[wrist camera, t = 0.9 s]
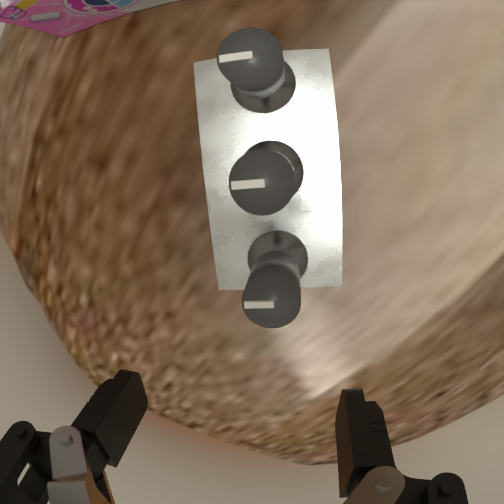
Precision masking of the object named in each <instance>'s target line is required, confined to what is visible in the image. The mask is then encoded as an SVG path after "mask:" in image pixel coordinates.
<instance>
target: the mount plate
mask: <svg viewBox="0 0 504 504" xmlns="http://www.w3.org/2000/svg"><path fill="white" fill-rule="evenodd" d="M283 57H284V66H285V80H284V83H283V85H282V87H281V88H280V89H279V90H278V91H277V92H276V93H275V94H273V95H271V96H269V97H266V98H251V97H248V96H246V95H244V94H242V93H241V92H240V91H239V90H238V89H237V88H236V87H235V86H234V85H233V84H232V83H231V82H230V81H228V80H227V79H226V78H225V77H224V75H223V74H222V73H221V72H220V70H219V68H218V65H217V58H216V59H210V60H204V61H199V62H194V76H195V88H196V100H197V111H198V122H199V133H200V143H201V152H202V162H203V171H204V180H205V189H206V197H207V206H208V214H209V222H210V230H211V237H212V245H213V252H214V260H215V267H216V274H217V281H218V288H219V290H244V289H245V286H246V283H247V281H248V278H249V275H250V272H251V269H252V266H253V264H254V262H255V261H256V259H257V258H258V257H260V256H261V255H263V254H264V253H267V252H271V251H279V252H283V253H286V254H288V255H290V256H291V257H292V258H293V259H294V260H295V261H296V263H297V264H298V267H299V270H300V288H312V287H334V286H342V195H341V172H340V154H339V140H338V127H337V116H336V105H335V96H334V87H333V78H332V70H331V63H330V56H329V49H302V50H284V51H283ZM255 150H275V151H278V152H280V153H282V154H283V155H285V156H286V157H287V158H288V159H289V160H290V162H291V164H292V166H293V168H294V173H295V190H294V193H293V196H292V198H291V200H290V201H289V203H288V204H287V205H286V206H285V207H284V208H283V209H282V210H280V211H278V212H276V213H274V214H271V215H265V216H259V215H254V214H251V213H248V212H246V211H244V210H243V209H242V208H240V207H239V206H238V205H237V204H236V202H235V201H234V200H233V198H232V196H231V194H230V190H229V182H228V181H229V174H230V171H231V169H232V167H233V165H234V164H235V162H236V161H237V160H238V159H239V158H240V157H241V156H243V155H244V154H246V153H248V152H251V151H255Z"/></svg>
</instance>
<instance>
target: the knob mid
mask: <svg viewBox="0 0 504 504" xmlns="http://www.w3.org/2000/svg"><path fill="white" fill-rule="evenodd" d="M228 182H229V190H230V194H231V196H232V198H233V200H234V201H235V202H236V204H237V205H238V206H239V207H240V208H242V209H243V210H244V211H246V212H248V213H251V214H254V215H259V216H265V215H271V214H274V213H276V212H278V211H280V210H282V209H283V208H284V207H285V206H286V205H287V204H288V203H289V201H290V200H291V198H292V196H293V193H294V190H295V173H294V168H293V166H292V164H291V162H290V160H289V159H288V158H287V157H286V156H285V155H283V154H282V153H280V152H278V151H275V150H255V151H251V152H248V153H246V154H244V155H243V156H241V157H240V158H239V159H238V160H237V161H236V162H235V164H234V165H233V167H232V169H231V171H230V174H229V181H228Z"/></svg>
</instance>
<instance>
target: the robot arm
mask: <svg viewBox="0 0 504 504" xmlns="http://www.w3.org/2000/svg"><path fill="white" fill-rule="evenodd" d="M147 405H148V400H147V396H146V392H145V389H144V386H143V383H142V380H141V377H140V374H139V373H138V372H133V371H128V370H123V369H121V370H119V371H118V373H117V374H116V375H115V377H114V378H113V379H108V380H107V381H105V382H104V383H102V384H101V385H100V386H99V387H98V389H97V390H96V391H95V393H94V395H93V396H92V397H91V398H90V400H89V402H87V404H86V405H85V406H84V408H83V409H82V411H81V412H80V413H79V415H78V416H77V418H76V419H75V420H74V422H73V423H72V425H71V426H62V427H59V428H57V429H56V430H54V431H53V432H52V433H49V432H40V431H36V430H35V428H34V427H33V425H32V424H31V423H29V422H27V421H19V422H16V423H15V424H13V425H12V426H11V427H10V428H9V430H8V431H7V433H6V434H5V435H4V437H3V438H2V439H1V441H0V504H47V502H48V500H49V501H50V504H115V502H114V499H113V496H112V493H111V489H110V486H109V483H108V479H107V476H106V472H105V470H104V469H105V467H106V465H107V464H108V465H110V466H113V467H117V465H118V464H119V461H120V460H121V458H122V456H123V454H124V452H125V450H126V448H127V446H128V444H129V442H130V440H131V438H132V437H133V435H134V433H135V431H136V429H137V427H138V425H139V423H140V421H141V419H142V417H143V416H144V414H145V412H146V409H147ZM335 431H336V444H337V458H338V473H339V493H340V498H344V497H348V498H347V499H346V501H345V502H344V503H343V504H468V500H467V495H466V490H465V486H464V483H463V481H462V479H461V478H460V477H459V476H457V475H456V474H453V473H441V474H438V475H437V476H435V477H434V478H433V479H432V480H424V479H414V478H410V477H407V476H405V475H403V474H402V473H401V472H400V471H399V470H398V469H397V468H396V466H395V463H394V459H393V454H392V449H391V445H390V440H389V436H388V432H387V427H386V423H385V419H384V415H383V411H382V409H381V408H380V407H379V406H378V404H377V403H376V402H375V401H367V402H365V398H364V393H363V390H362V389H343V390H342V392H341V396H340V401H339V405H338V409H337V414H336V421H335ZM27 463H28V464H29V465H30V467H29V469H28V470H27V472H26V474H25V476H24V477H23V479H22V480H21V482H20V484H19V486H18V484H17V481H18V478H19V476H20V474H21V472H22V471H23V469H24V468H25V466H26V464H27Z"/></svg>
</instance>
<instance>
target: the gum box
mask: <svg viewBox="0 0 504 504" xmlns="http://www.w3.org/2000/svg"><path fill="white" fill-rule="evenodd" d="M175 1H181V0H0V22H5V23H9V24H15V25H19V26H23V27H26V28H30V29H34V30H38V31H42V32H45V33H48V34H51V35H55V36H58V37H61V38H64V37H66V36H68V35H71V34H73V33H75V32H78V31H80V30H83V29H86V28H88V27H91V26H93V25H96V24H98V23H101V22H104V21H107V20H110V19H113V18H116V17H119V16H122V15H125V14H128V13H131V12H135V11H138V10H143V9H147V8H151V7H154V6H157V5H161V4H165V3H170V2H175Z"/></svg>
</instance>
